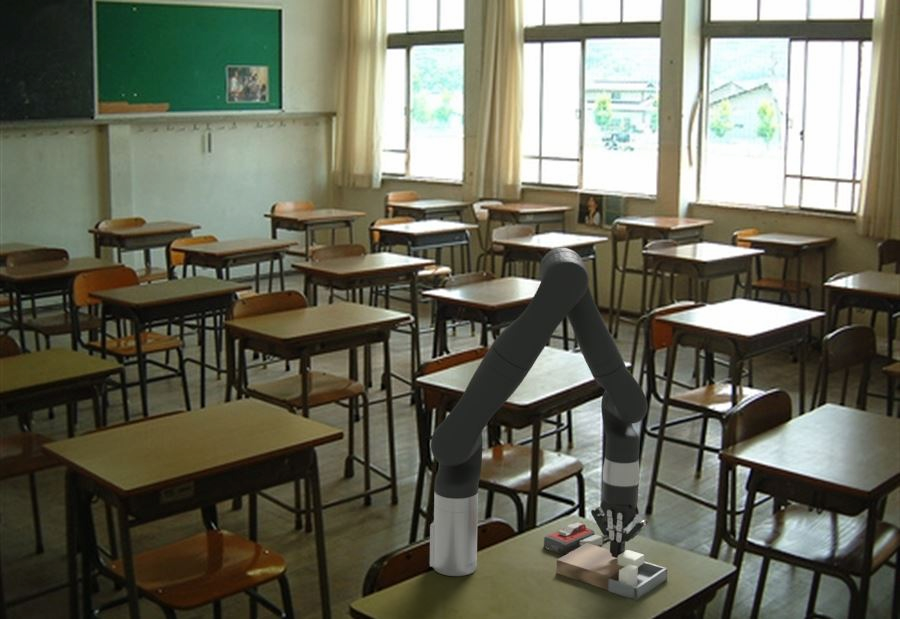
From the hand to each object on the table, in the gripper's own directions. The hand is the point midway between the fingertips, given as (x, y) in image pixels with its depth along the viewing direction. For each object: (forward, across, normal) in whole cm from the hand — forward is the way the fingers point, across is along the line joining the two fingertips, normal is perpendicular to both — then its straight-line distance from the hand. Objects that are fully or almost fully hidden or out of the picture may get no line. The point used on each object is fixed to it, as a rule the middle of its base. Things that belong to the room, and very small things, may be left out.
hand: (617, 556), depth 241 cm
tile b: (+1, +4, 0) cm, 4 cm away
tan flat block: (+4, -3, -3) cm, 5 cm away
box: (+4, +7, -3) cm, 8 cm away
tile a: (+1, +5, -6) cm, 8 cm away
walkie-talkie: (+4, -15, +10) cm, 18 cm away
